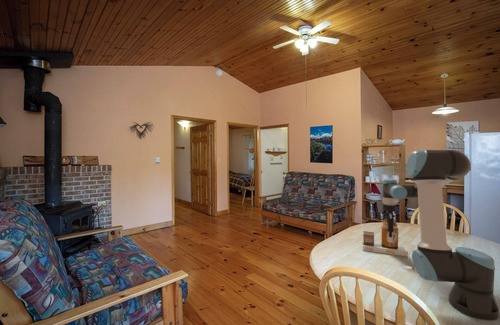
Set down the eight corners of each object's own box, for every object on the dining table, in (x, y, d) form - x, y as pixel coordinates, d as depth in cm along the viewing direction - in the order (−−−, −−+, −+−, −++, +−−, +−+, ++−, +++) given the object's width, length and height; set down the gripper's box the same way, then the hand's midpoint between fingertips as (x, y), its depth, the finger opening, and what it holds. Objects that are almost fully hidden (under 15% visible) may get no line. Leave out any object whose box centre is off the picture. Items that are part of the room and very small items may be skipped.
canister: (384, 250, 149) (384, 218, 148) (378, 243, 160) (378, 213, 159) (400, 251, 148) (400, 218, 146) (393, 244, 158) (394, 213, 157)
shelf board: (407, 258, 143) (408, 251, 143) (362, 252, 153) (362, 245, 153) (403, 249, 156) (403, 242, 156) (362, 243, 166) (362, 238, 166)
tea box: (374, 249, 154) (374, 235, 154) (363, 247, 157) (363, 234, 156) (373, 245, 160) (373, 232, 159) (363, 244, 162) (363, 231, 162)
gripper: (399, 208, 140) (398, 246, 141) (394, 200, 161) (393, 233, 163) (384, 207, 143) (384, 244, 144) (381, 199, 164) (380, 232, 166)
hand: (389, 238), depth 154 cm, fingers closed on canister, 11 cm apart
